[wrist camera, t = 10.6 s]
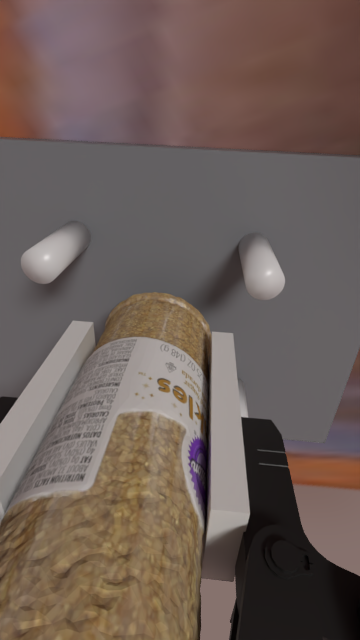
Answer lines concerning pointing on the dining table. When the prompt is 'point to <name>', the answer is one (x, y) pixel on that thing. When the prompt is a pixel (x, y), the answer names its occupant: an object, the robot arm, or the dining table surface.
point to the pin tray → (189, 259)
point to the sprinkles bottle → (117, 490)
